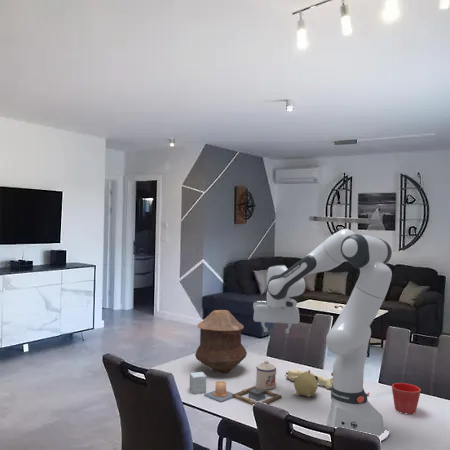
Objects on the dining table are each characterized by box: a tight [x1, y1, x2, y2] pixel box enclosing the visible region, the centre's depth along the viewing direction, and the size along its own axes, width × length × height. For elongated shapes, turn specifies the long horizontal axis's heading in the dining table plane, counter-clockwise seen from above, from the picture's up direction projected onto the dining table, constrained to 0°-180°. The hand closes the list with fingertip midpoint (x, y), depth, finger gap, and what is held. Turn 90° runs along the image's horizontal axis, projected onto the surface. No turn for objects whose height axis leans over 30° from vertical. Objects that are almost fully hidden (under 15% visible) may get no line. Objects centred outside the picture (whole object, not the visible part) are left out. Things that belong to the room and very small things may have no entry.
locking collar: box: [232, 385, 283, 406], centre depth 200 cm, size 15×15×2 cm
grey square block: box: [248, 388, 266, 402], centre depth 200 cm, size 5×5×3 cm
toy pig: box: [293, 371, 319, 398], centre depth 204 cm, size 10×12×11 cm
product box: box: [189, 371, 207, 395], centre depth 206 cm, size 6×6×7 cm
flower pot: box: [391, 382, 421, 415], centre depth 191 cm, size 11×11×10 cm
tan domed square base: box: [214, 380, 229, 397], centre depth 201 cm, size 6×5×5 cm
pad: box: [203, 390, 234, 403], centre depth 201 cm, size 10×10×1 cm
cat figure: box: [284, 368, 333, 389], centre depth 219 cm, size 10×9×25 cm
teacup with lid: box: [255, 360, 277, 390], centre depth 215 cm, size 12×9×12 cm
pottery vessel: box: [194, 309, 248, 374], centre depth 234 cm, size 26×26×30 cm
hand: (276, 332), depth 207 cm, fingers open, 8 cm apart
